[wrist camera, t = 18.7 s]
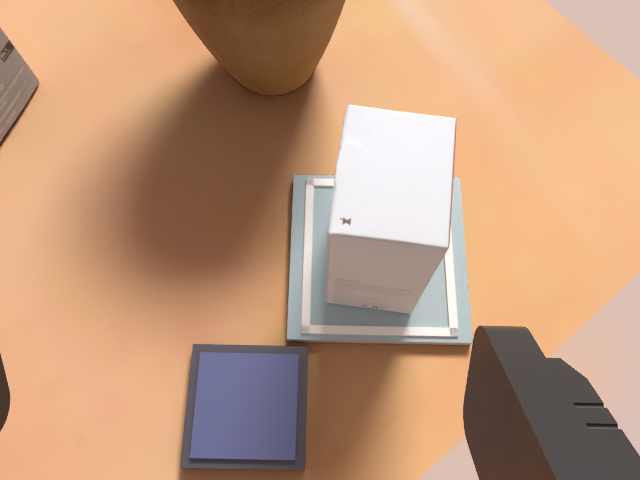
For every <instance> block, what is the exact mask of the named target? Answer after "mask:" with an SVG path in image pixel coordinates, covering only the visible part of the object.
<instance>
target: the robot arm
mask: <svg viewBox="0 0 640 480" xmlns="http://www.w3.org/2000/svg"><path fill="white" fill-rule="evenodd" d="M9 406H10V391H9V387H8V383H7V378H6V374H5V370H4V366H3V362H2V358H1V354H0V431H1V429H2V428H3V426H4V424H5V421H6V419H7V416H8V412H9ZM463 419H464V429H465V435H466V439H467V443H468V446H469V449H470V452H471V455H472V458H473V462H474V465H475V468H476V471H477V474H478V477H479V480H640V456H639V454H638V453H637V452H636V450H635V449H634V447H633V446H632V444H631V443H630V441H629V440H628V438H627V437H626V436H625V434H624V432H623V431H622V430H621V429H618V426H617V425H618V424H617V422H616V421H615V419H614V418H613V416H612V415H611V413H610V412H609V410H608V409H607V408H604V406H603V402H602V400H601V399H600V397H599V396H598V394H597V393H596V391H595V390H594V388H593V387H592V385H591V384H590V382H589V381H588V380H587V378H585V377H584V376H583V375H581V374H580V373H579V372H577V371H576V370H575V369H574V368H572V367H571V366H570V365H568V364H567V363H565V362H564V361H563V360H562V359H561V358H546V357H545V356H544V354H543V352H542V351H541V349H540V347H539V346H538V344H537V343H536V341H535V339H534V338H533V336H532V334H531V333H530V331H529V330H528V329H527V328H526V327H514V326H479V327H477V329H476V331H475V334H474V339H473V345H472V351H471V358H470V364H469V371H468V377H467V384H466V390H465V397H464V405H463Z"/></svg>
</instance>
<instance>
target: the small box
mask: <svg viewBox="0 0 640 480" xmlns="http://www.w3.org/2000/svg"><path fill="white" fill-rule="evenodd" d="M456 120H457V119H455V118H451V117H443V116H435V115H426V114H418V113H409V112H401V111H393V110H385V109H378V108H371V107H363V106H356V105H348V106H347V108H346V112H345V117H344V123H343V129H342V135H341V141H340V148H339V154H338V159H337V165H336V171H335V178H334V189H333V198H332V205H331V213H330V221H329V229H328V247H327V283H326V296H325V302H326V303H333V304H340V305H348V306H355V307H363V308H371V309H379V310H386V311H393V312H400V313H407V314H411V313H412V311H413V309H414V308H415V306H416V304H417V303H418V301H419V299H420V297H421V295H422V293H423V292H424V290H425V288H426V287H427V285H428V283H429V281H430V279H431V278H432V276H433V274H434V272H435V271H436V269H437V267H438V265H439V264H440V262H441V260H442V258H443V257H444V255H445V253H446V252H447V250H448V248H449V246H450V230H451V214H452V196H453V178H454V158H455V141H456Z"/></svg>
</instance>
